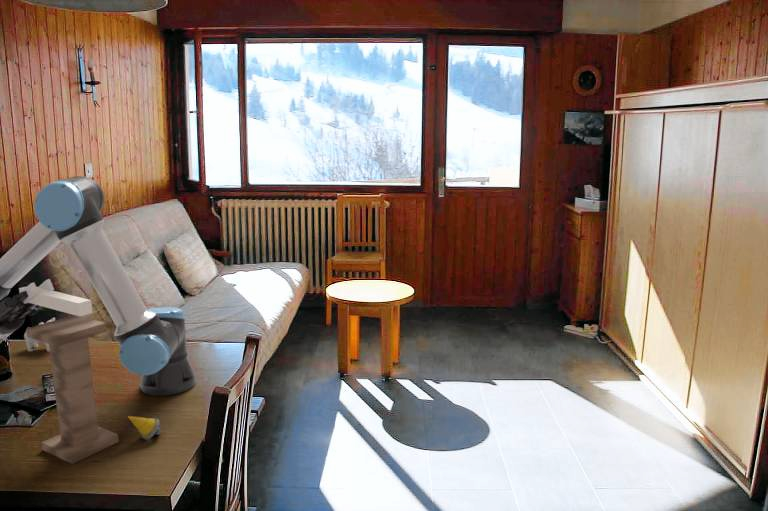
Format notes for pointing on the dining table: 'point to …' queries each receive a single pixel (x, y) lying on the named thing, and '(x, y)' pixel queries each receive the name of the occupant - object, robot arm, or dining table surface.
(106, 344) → the dining table surface
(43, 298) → the bar
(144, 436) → the drill bit
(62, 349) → the pedestal
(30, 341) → the dog figurine
